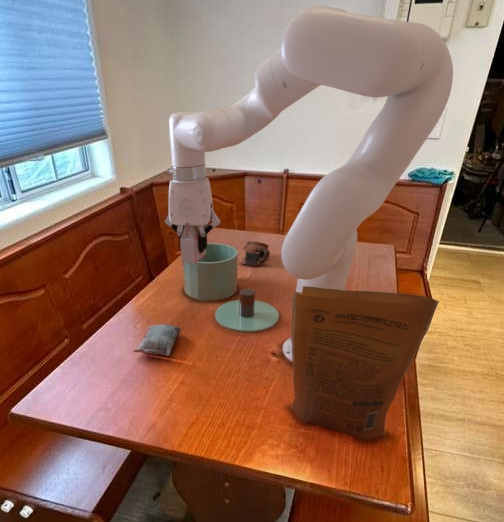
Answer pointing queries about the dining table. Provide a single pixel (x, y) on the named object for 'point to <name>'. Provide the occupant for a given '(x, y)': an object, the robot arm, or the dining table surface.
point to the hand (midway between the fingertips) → (193, 249)
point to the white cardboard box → (190, 245)
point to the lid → (246, 314)
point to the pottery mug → (255, 253)
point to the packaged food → (159, 340)
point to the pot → (212, 273)
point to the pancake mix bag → (353, 355)
